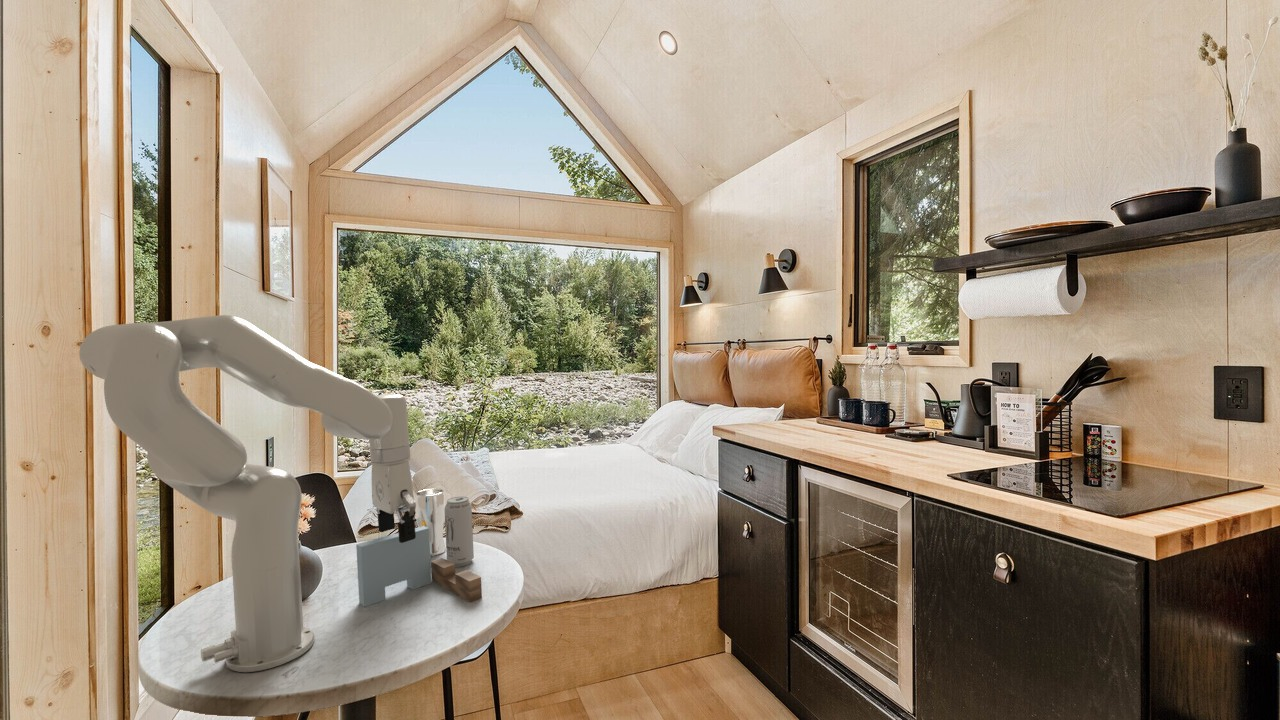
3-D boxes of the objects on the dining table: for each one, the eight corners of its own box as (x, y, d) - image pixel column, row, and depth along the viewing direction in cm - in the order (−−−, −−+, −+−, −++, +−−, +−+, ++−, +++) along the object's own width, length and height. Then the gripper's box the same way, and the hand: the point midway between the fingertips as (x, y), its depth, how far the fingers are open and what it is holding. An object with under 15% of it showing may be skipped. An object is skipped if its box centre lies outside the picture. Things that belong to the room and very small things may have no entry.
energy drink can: (441, 564, 133) (438, 500, 133) (463, 555, 138) (460, 494, 138) (457, 569, 130) (454, 504, 129) (479, 561, 134) (476, 498, 134)
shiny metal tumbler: (428, 559, 136) (425, 497, 136) (411, 553, 141) (408, 493, 140) (453, 550, 142) (450, 490, 141) (436, 544, 146) (434, 487, 146)
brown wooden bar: (481, 597, 115) (481, 576, 115) (470, 602, 113) (469, 581, 113) (442, 576, 126) (442, 557, 126) (431, 580, 124) (430, 561, 124)
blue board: (364, 606, 113) (360, 547, 112) (359, 603, 114) (356, 544, 114) (431, 583, 123) (428, 528, 123) (426, 580, 125) (423, 525, 124)
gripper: (355, 452, 121) (361, 531, 122) (390, 464, 109) (397, 551, 110) (390, 446, 126) (396, 521, 128) (427, 456, 115) (434, 539, 116)
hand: (397, 535), depth 119 cm, fingers open, 9 cm apart
